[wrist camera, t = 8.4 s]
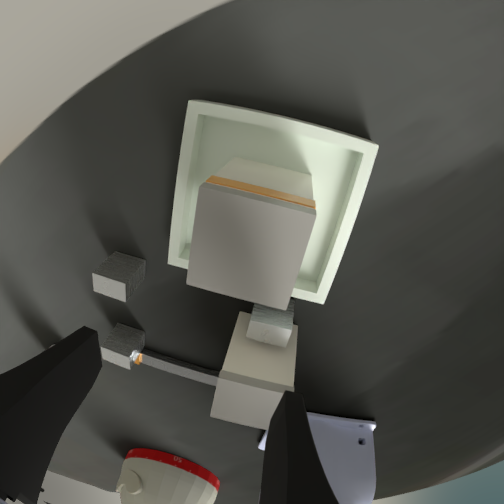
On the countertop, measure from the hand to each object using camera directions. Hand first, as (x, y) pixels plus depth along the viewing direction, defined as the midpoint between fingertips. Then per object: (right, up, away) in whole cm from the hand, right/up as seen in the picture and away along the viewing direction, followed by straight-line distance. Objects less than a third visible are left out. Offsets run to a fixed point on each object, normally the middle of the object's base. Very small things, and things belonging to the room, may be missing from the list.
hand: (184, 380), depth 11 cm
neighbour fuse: (+3, -2, +11) cm, 12 cm away
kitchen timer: (-9, -27, +26) cm, 38 cm away
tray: (+3, +8, +7) cm, 11 cm away
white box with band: (+3, +7, +6) cm, 10 cm away
